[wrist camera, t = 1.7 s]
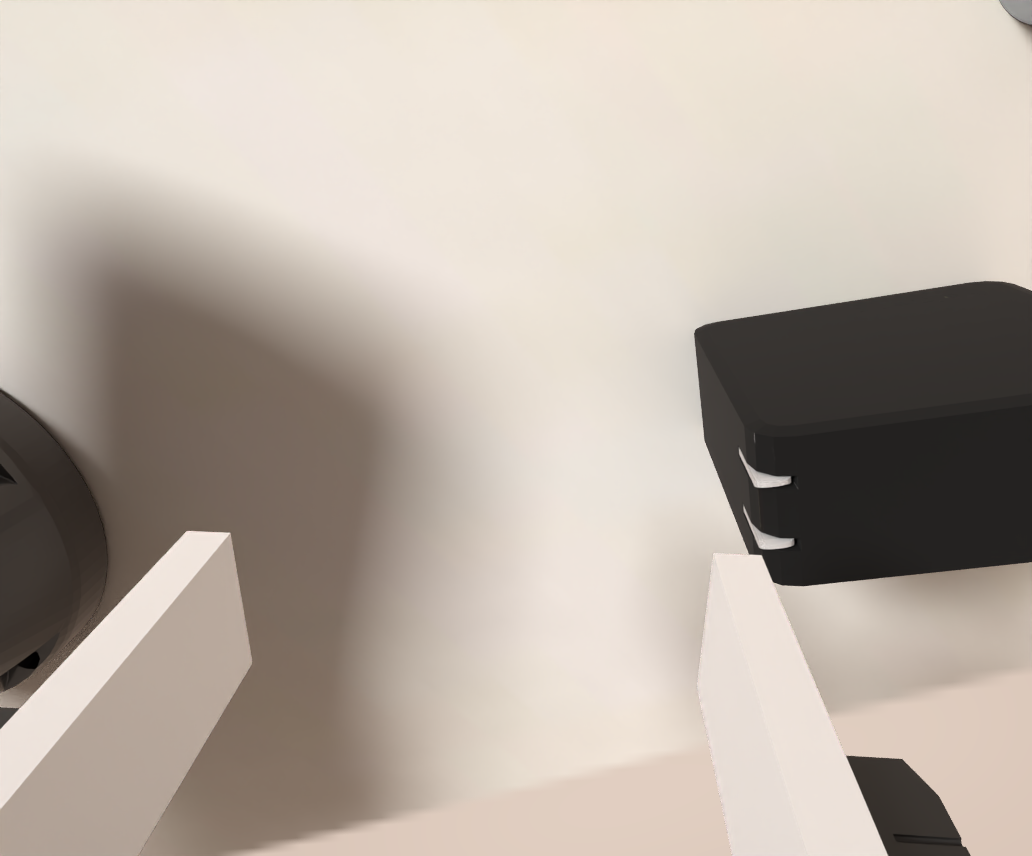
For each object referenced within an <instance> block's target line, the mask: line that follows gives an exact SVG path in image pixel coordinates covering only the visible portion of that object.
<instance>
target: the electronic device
mask: <svg viewBox="0 0 1032 856" xmlns="http://www.w3.org/2000/svg"><path fill="white" fill-rule="evenodd" d="M694 336H695V346H696V356H697V367H698V377H699V387H700V398H701V408H702V418H703V428H704V439H705V443H706V445H707V448H708V451H709V453H710V456H711V458H712V461H713V463H714V466H715V468H716V471H717V473H718V476H719V479H720V481H721V484H722V486H723V489H724V491H725V494H726V496H727V499H728V502H729V504H730V507H731V509H732V512H733V514H734V517H735V519H736V522H737V524H738V527H739V530H740V532H741V535H742V537H743V540H744V542H745V545H746V547H747V550H748V553H749V555H762V558H763V560H764V562H765V565H766V567H767V569H768V572H769V574H770V577H771V579H772V581H773V582H774V583H777V584H780V585H788V586H809V585H819V584H828V583H838V582H847V581H857V580H866V579H876V578H885V577H895V576H904V575H914V574H923V573H933V572H942V571H952V570H961V569H971V568H980V567H990V566H999V565H1009V564H1018V563H1028V562H1032V291H1031V290H1028V289H1026V288H1023V287H1020V286H1018V285H1015V284H1011V283H1006V282H994V281H983V282H972V283H964V284H958V285H951V286H945V287H939V288H932V289H926V290H919V291H913V292H906V293H900V294H894V295H887V296H881V297H874V298H868V299H862V300H855V301H849V302H842V303H836V304H830V305H823V306H817V307H810V308H804V309H797V310H791V311H785V312H778V313H772V314H765V315H759V316H753V317H746V318H740V319H733V320H727V321H721V322H715V323H711V324H707V325H704V326H702V327H699V328H697V329H696V330H695V333H694Z"/></svg>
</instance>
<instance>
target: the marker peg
mask: <svg viewBox="0 0 1032 856" xmlns="http://www.w3.org/2000/svg"><path fill="white" fill-rule="evenodd" d="M999 1H1000V2H1001V4H1002V6H1003V7H1004V8H1005V9H1006V11H1007V12H1008V13H1009V14H1011V15H1012V16H1013V17H1014V18H1016V19H1018V20H1019V21H1021V22H1024V23H1026V24H1030V25H1032V0H999Z"/></svg>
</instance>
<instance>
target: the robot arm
mask: <svg viewBox="0 0 1032 856" xmlns="http://www.w3.org/2000/svg"><path fill="white" fill-rule="evenodd" d="M106 574H107V549H106V541H105V536H104V531H103V526H102V523H101V519H100V516H99V513H98V511H97V508H96V505H95V503H94V500H93V498H92V496H91V494H90V492H89V490H88V488H87V486H86V484H85V482H84V480H83V479H82V477H81V475H80V474H79V472H78V470H77V469H76V467H75V466H74V464H73V463H72V462H71V460H70V459H69V457H68V456H67V455H66V453H65V452H64V451H63V450H62V448H61V447H60V446H59V445H58V443H57V442H56V441H55V440H54V439H53V438H52V437H51V436H50V434H49V433H48V432H47V431H46V430H45V429H44V428H43V427H42V426H41V425H40V424H39V423H38V422H37V421H36V420H34V419H33V418H32V417H31V416H30V415H29V414H28V413H27V412H26V411H24V410H23V409H22V408H21V407H19V406H18V405H17V404H16V403H14V402H13V401H12V400H10V399H9V398H7V397H6V396H5V395H3V394H2V393H0V693H2V692H3V691H5V690H7V689H10V688H12V687H14V686H16V685H18V684H19V683H21V682H23V681H25V680H26V679H28V678H30V677H31V676H33V675H34V674H36V673H37V672H38V671H40V670H41V669H42V668H44V667H45V666H46V665H47V664H48V663H50V662H51V661H52V660H53V659H54V658H55V657H56V656H57V655H58V654H59V653H60V652H61V651H62V650H63V649H64V647H65V646H66V645H67V644H68V643H69V642H70V641H71V640H72V639H73V638H74V637H75V636H76V635H77V634H78V633H79V632H80V631H81V630H82V629H83V628H84V627H85V625H86V624H87V623H88V622H89V620H90V619H91V617H92V616H93V614H94V612H95V610H96V608H97V606H98V604H99V602H100V599H101V596H102V594H103V590H104V586H105V581H106ZM252 663H253V662H252V656H251V650H250V644H249V638H248V633H247V627H246V621H245V615H244V609H243V603H242V597H241V591H240V585H239V580H238V574H237V568H236V562H235V556H234V550H233V544H232V538H231V533H224V532H200V531H186V532H185V533H184V535H183V536H182V537H181V538H180V539H179V540H178V541H177V542H176V543H175V544H174V545H173V546H172V547H171V548H170V549H169V550H168V552H167V553H166V554H165V555H164V556H163V557H162V558H161V559H160V560H159V561H158V562H157V563H156V564H155V565H154V566H153V567H152V569H151V570H150V571H149V572H148V573H147V574H146V575H145V576H144V577H143V578H142V579H141V580H140V581H139V582H138V583H137V584H136V586H135V587H134V588H133V589H132V590H131V591H130V592H129V593H128V594H127V595H126V596H125V597H124V598H123V599H122V600H121V601H120V603H119V604H118V605H117V606H116V607H115V608H114V609H113V610H112V611H111V612H110V613H109V614H108V615H107V616H106V617H105V618H104V620H103V621H102V622H101V623H100V624H99V625H98V626H97V627H96V628H95V629H94V630H93V631H92V632H91V633H90V634H89V635H88V637H87V638H86V639H85V640H84V641H83V642H82V643H81V644H80V645H79V646H78V647H77V648H76V649H75V650H74V651H73V653H72V654H71V655H70V656H69V657H68V658H67V659H66V660H65V661H64V662H63V663H62V664H61V665H60V666H59V667H58V668H57V670H56V671H55V672H54V673H53V674H52V675H51V676H50V677H49V678H48V679H47V680H46V681H45V682H44V683H43V684H42V685H41V687H40V688H39V689H38V690H37V691H36V692H35V693H34V694H33V695H32V696H31V697H30V698H29V699H28V700H27V701H26V702H25V704H24V705H23V706H22V707H21V708H20V709H17V708H1V707H0V856H138V855H139V853H140V852H141V850H142V848H143V847H144V845H145V843H146V842H147V840H148V838H149V837H150V835H151V833H152V832H153V830H154V828H155V826H156V825H157V823H158V821H159V820H160V818H161V816H162V815H163V813H164V811H165V810H166V808H167V806H168V805H169V803H170V801H171V800H172V798H173V796H174V794H175V793H176V791H177V789H178V788H179V786H180V784H181V783H182V781H183V779H184V778H185V776H186V774H187V773H188V771H189V769H190V768H191V766H192V764H193V762H194V761H195V759H196V757H197V756H198V754H199V752H200V751H201V749H202V747H203V746H204V744H205V742H206V741H207V739H208V737H209V735H210V734H211V732H212V730H213V729H214V727H215V725H216V724H217V722H218V720H219V719H220V717H221V715H222V714H223V712H224V710H225V709H226V707H227V705H228V703H229V702H230V700H231V698H232V697H233V695H234V693H235V692H236V690H237V688H238V687H239V685H240V683H241V682H242V680H243V678H244V676H245V675H246V673H247V671H248V670H249V668H250V666H251V665H252ZM697 690H698V695H699V700H700V705H701V709H702V714H703V719H704V724H705V728H706V733H707V738H708V743H709V747H710V752H711V757H712V762H713V766H714V771H715V775H716V781H717V785H718V790H719V795H720V799H721V804H722V809H723V814H724V818H725V824H726V828H727V833H728V838H729V843H730V847H731V851H732V856H970V854H969V852H968V850H967V848H966V847H963V846H962V844H961V837H960V835H959V833H958V831H957V829H956V828H955V826H954V824H953V822H952V820H951V818H950V816H949V815H948V813H947V811H946V809H945V807H944V805H943V803H942V801H941V799H940V797H939V796H938V795H937V794H936V793H935V792H934V791H933V790H932V789H931V788H930V787H929V786H928V785H927V784H926V783H925V782H924V781H923V780H922V779H921V778H920V777H919V776H918V775H917V774H916V773H915V772H914V771H913V770H912V769H911V768H910V767H909V766H908V765H907V764H906V763H905V762H904V761H903V760H902V759H890V758H874V757H856V756H846V755H845V753H844V750H843V748H842V745H841V743H840V741H839V738H838V736H837V733H836V731H835V729H834V726H833V724H832V722H831V719H830V717H829V714H828V712H827V710H826V707H825V705H824V703H823V700H822V698H821V695H820V693H819V691H818V688H817V686H816V684H815V681H814V679H813V676H812V674H811V672H810V669H809V667H808V664H807V662H806V660H805V657H804V655H803V653H802V650H801V648H800V645H799V643H798V641H797V638H796V636H795V634H794V631H793V629H792V626H791V624H790V622H789V619H788V617H787V615H786V612H785V610H784V607H783V605H782V603H781V600H780V598H779V596H778V593H777V591H776V588H775V586H774V584H773V581H772V579H771V577H770V574H769V572H768V569H767V567H766V565H765V562H764V560H763V558H762V555H746V554H722V553H713V559H712V567H711V576H710V584H709V592H708V600H707V608H706V616H705V624H704V632H703V641H702V649H701V657H700V665H699V673H698V681H697Z"/></svg>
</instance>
